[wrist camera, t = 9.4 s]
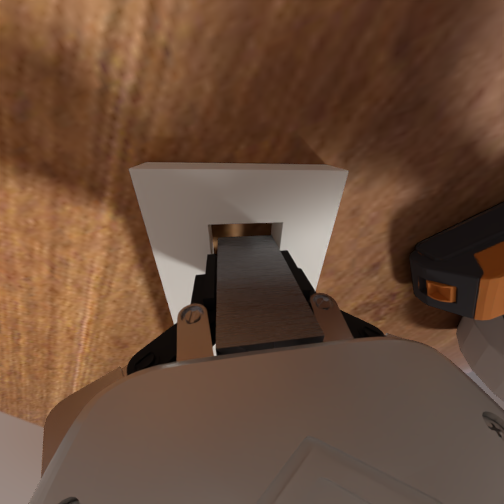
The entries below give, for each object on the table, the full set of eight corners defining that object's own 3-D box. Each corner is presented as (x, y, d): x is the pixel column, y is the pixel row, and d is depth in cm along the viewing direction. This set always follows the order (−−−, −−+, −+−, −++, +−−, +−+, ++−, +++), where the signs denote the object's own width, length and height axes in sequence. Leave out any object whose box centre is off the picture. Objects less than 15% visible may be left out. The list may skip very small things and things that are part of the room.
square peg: (217, 237, 13) (215, 349, 6) (271, 235, 13) (324, 335, 7) (221, 280, 15) (222, 400, 8) (268, 277, 15) (306, 387, 9)
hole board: (146, 161, 13) (128, 168, 10) (326, 164, 14) (348, 170, 12) (189, 340, 23) (186, 365, 21) (290, 329, 25) (298, 350, 22)
